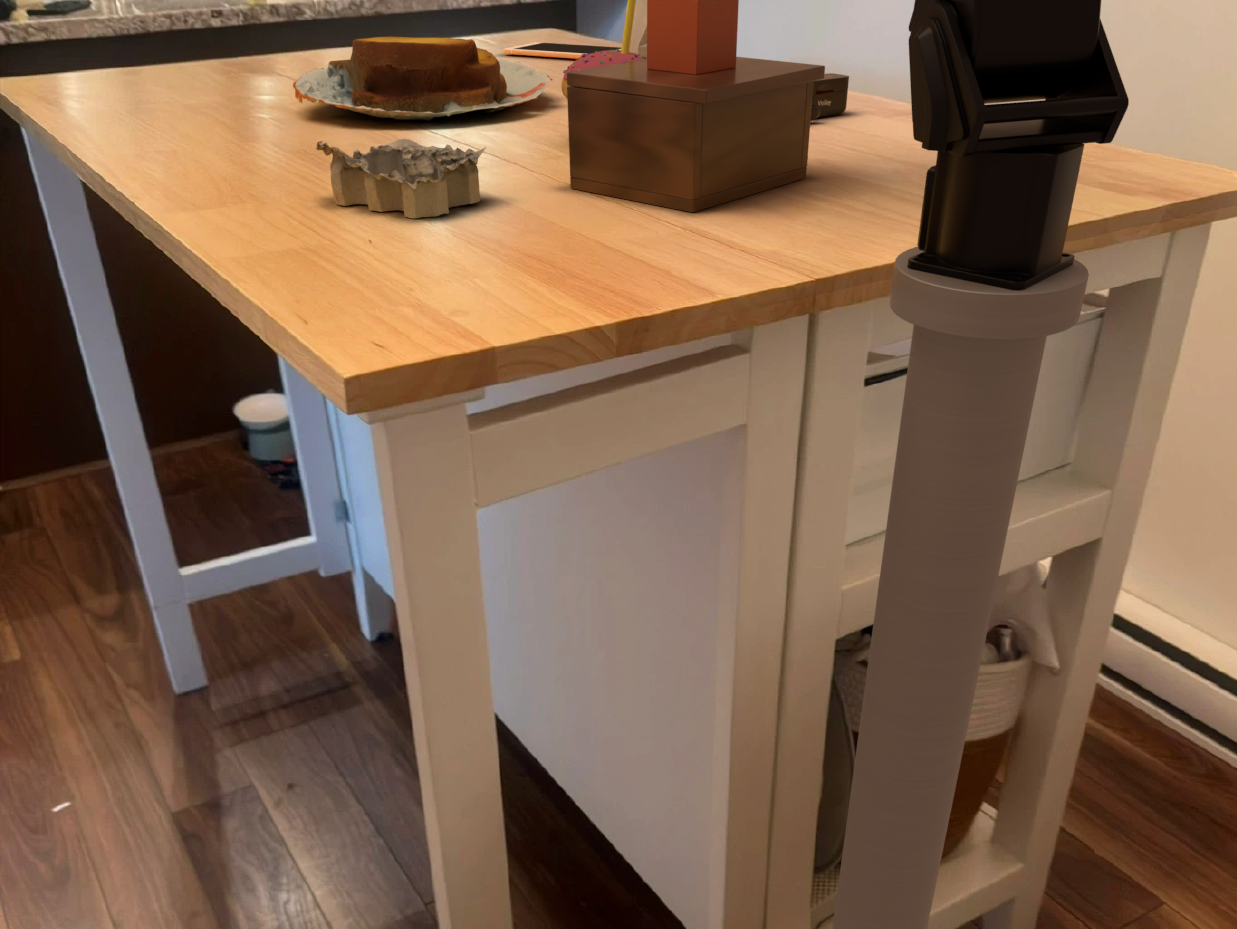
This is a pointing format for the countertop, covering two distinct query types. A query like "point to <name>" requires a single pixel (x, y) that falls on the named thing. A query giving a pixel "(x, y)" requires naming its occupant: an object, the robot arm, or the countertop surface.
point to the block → (691, 35)
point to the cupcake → (607, 56)
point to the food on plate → (420, 79)
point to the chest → (687, 145)
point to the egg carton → (405, 178)
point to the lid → (697, 79)
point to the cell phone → (556, 49)
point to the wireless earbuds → (829, 95)
